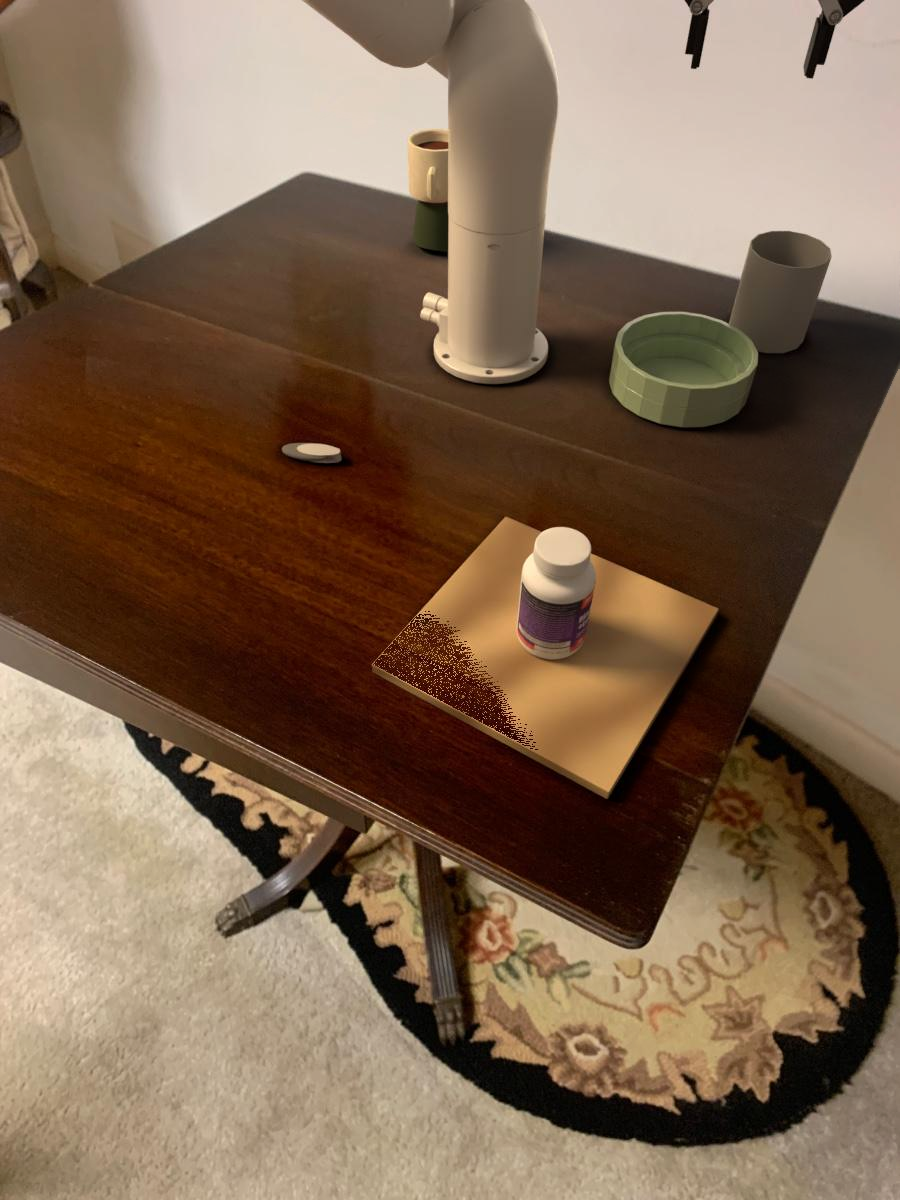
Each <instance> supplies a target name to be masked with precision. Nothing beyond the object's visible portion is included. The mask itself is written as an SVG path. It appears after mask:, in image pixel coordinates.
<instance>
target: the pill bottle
mask: <svg viewBox="0 0 900 1200" xmlns="http://www.w3.org/2000/svg"><path fill="white" fill-rule="evenodd" d="M541 532H542V533H541V534H540V535H539V536H538V537H537V539H536V541H535V546H534V551H533V553H532V554H531V555H530V556H529V557H528V558H527V559H526V561H525V563H524V565H523V569H522V576H521V586H520V598H519V609H518V618H517V636H518V639H519V641H520V643H521V645H522V646H523V647H524V648H525V649H526V650H527V651H528V652H530V653H531V654H533V655H535V656H537V657H540V658H544V659H562V658H565V657H568V656H570V655H572V654H574V653H575V652H577V651H578V650H579V649H580V647H581V646H582V644H583V642H584V639H585V635H586V630H587V625H588V620H589V614H590V609H591V604H592V599H593V593H594V588H595V583H596V574H595V570H594V567H593V565H592V563H591V561H590V555H591V554H592V544H591V542H590V540H589V539H588V537H587V536H586V535H585V534H584V533H582V532H581V531H579V530H577V529H574V528H571V527H567V526H555V527H550V528H548V529H545V530H543V531H541Z"/></svg>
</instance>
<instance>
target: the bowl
mask: <svg viewBox="0 0 900 1200" xmlns="http://www.w3.org/2000/svg"><path fill="white" fill-rule="evenodd" d="M758 363H759V351H757V349H756V348H755V346H754V344H753V342H752V340H751V339H750V338H748V337H747V336H746V335H745V334H744V333H743V332H742V331H741V330H739V329H737V328H736V327H734V326H732V325H730V324H729V322H726V321H724V320H721V319H719V318H715V317H712V316H709V315H706V314H701V313H695V312H689V311H659V312H654V313H649V314H644V315H641V316H638V317H637V318H634V319H632V320H631V321H628V322H626V324H624V326H622V328H621V329H620V330H619V331H618V332H617V335H616V338H615V343H614V348H613V354H612V360H611V367H610V373H609V378H608V383H609V386H610V389H611V393H612V395H613V396H614V397H615V398H616V400H617V401H618V402H619V403H620V404H621V406H623V407H624V408H625V409H627V410H629V411H630V412H632V413H633V414H635V415H636V416H637V417H640V418H643V419H645V420H648V421H651V422H653V423H657V424H660V425H665V426H671V427H678V428H706V427H710V426H714V425H717V424H721V423H725V422H726V421H728V420H730V419H732V418H733V417H736V416H737V415H738V414H739V413H740V412H741V411H742V409H743V407H744V406H745V405H746V404H747V400H748V397H749V394H750V391H751V387H752V384H753V380H754V379H755V378H754V377H755V374H756V371H757V368H758V365H759V364H758Z"/></svg>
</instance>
